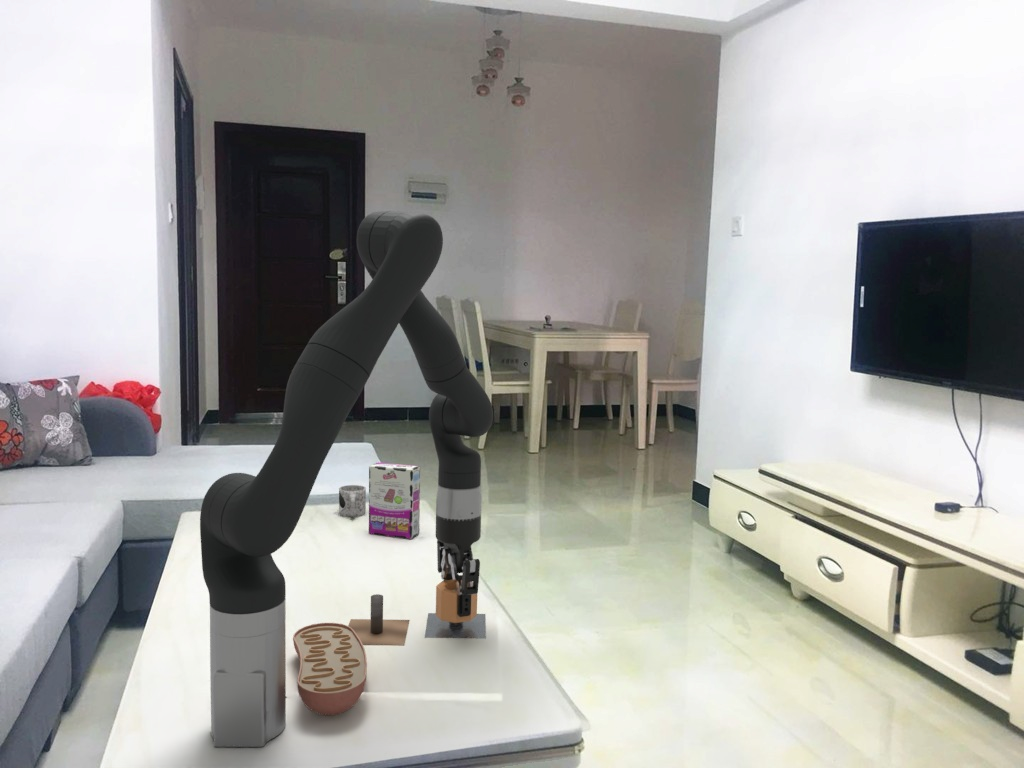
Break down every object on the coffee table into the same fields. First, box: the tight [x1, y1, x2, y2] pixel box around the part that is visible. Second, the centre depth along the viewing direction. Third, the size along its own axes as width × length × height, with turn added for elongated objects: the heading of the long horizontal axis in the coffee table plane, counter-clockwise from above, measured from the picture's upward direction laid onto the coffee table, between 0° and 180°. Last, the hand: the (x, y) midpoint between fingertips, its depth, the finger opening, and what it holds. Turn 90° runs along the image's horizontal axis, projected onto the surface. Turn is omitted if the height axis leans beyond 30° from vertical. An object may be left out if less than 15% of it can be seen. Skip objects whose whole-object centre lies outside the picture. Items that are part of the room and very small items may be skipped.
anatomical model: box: [292, 622, 368, 717], centre depth 117 cm, size 23×10×5 cm, turn 17°
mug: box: [338, 484, 367, 518], centre depth 204 cm, size 10×7×7 cm, turn 12°
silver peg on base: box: [424, 588, 487, 639], centre depth 137 cm, size 10×10×7 cm
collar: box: [435, 579, 478, 623], centre depth 136 cm, size 6×6×5 cm
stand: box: [347, 593, 411, 647], centre depth 133 cm, size 10×10×7 cm
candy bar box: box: [368, 462, 421, 540], centre depth 189 cm, size 11×5×16 cm, turn 73°
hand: (456, 607), depth 137 cm, fingers closed on collar, 6 cm apart
